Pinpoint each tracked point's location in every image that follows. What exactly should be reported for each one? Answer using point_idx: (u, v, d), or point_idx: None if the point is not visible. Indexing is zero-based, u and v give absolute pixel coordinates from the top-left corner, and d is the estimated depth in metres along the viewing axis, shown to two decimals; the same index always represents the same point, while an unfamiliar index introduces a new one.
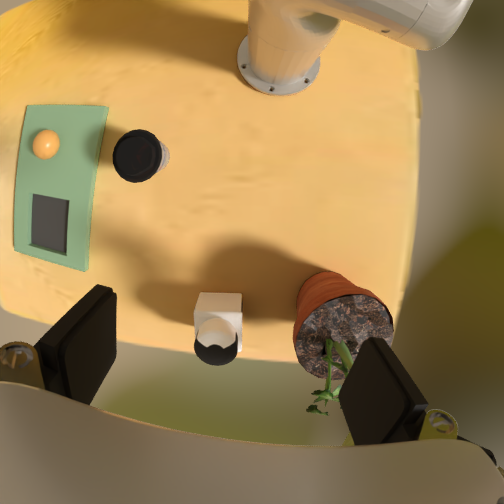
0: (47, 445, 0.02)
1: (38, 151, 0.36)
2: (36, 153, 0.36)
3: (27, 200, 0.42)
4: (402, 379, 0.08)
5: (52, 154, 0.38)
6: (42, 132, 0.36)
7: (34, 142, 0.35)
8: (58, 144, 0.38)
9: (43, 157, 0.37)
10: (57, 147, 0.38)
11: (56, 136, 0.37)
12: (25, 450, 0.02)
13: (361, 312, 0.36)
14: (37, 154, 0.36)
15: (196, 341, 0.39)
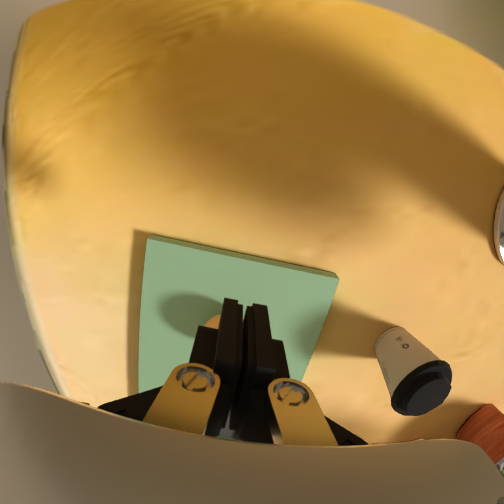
0: (47, 445, 0.02)
1: None
2: None
3: None
4: (259, 341, 0.08)
5: None
6: None
7: None
8: None
9: None
10: None
11: None
12: (25, 450, 0.02)
13: None
14: None
15: None
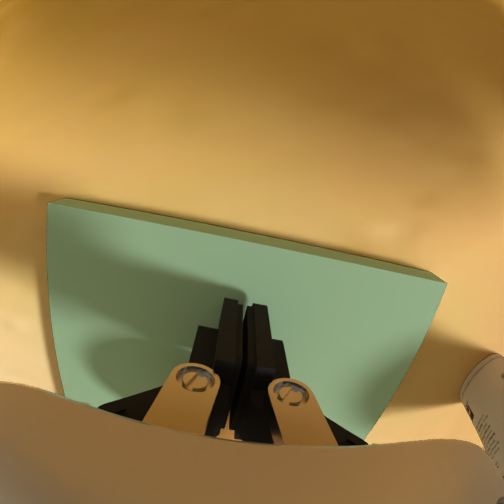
0: (47, 445, 0.02)
1: None
2: None
3: None
4: (258, 341, 0.08)
5: None
6: None
7: None
8: None
9: None
10: None
11: None
12: (25, 450, 0.02)
13: None
14: None
15: None
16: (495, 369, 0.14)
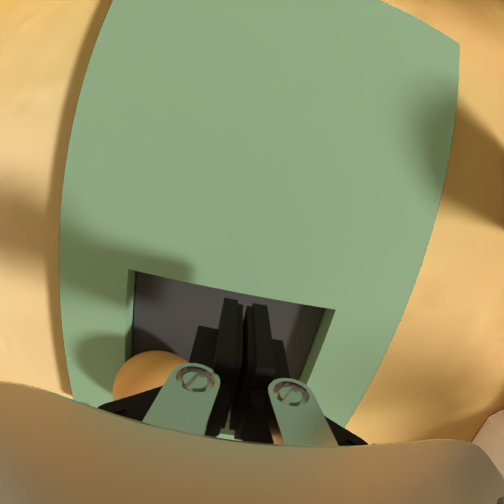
0: (47, 445, 0.02)
1: None
2: None
3: (120, 295, 0.14)
4: (259, 341, 0.08)
5: None
6: (135, 378, 0.12)
7: None
8: None
9: None
10: None
11: None
12: (25, 450, 0.02)
13: None
14: None
15: None
16: None
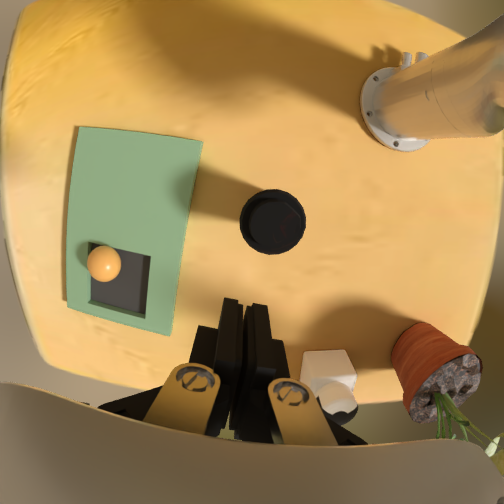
0: (47, 445, 0.02)
1: (104, 250, 0.37)
2: (100, 253, 0.36)
3: (85, 250, 0.39)
4: (259, 341, 0.08)
5: (118, 262, 0.38)
6: None
7: (94, 249, 0.37)
8: None
9: (109, 259, 0.36)
10: None
11: None
12: (25, 450, 0.02)
13: (464, 368, 0.33)
14: (101, 254, 0.36)
15: None
16: None
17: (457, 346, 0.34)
